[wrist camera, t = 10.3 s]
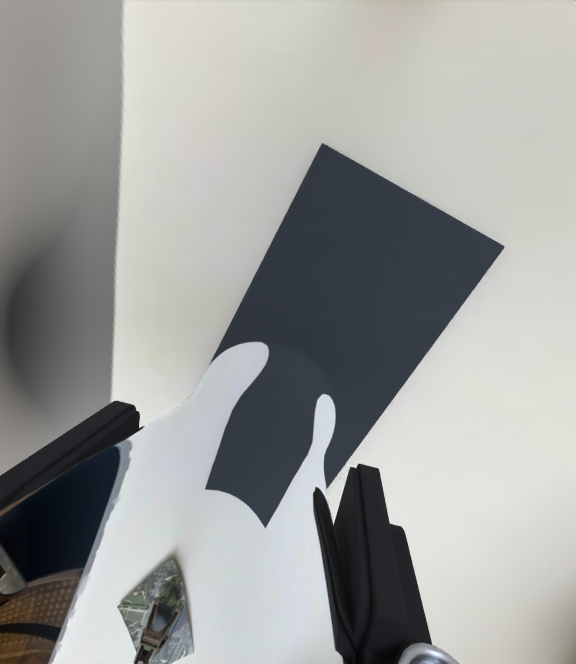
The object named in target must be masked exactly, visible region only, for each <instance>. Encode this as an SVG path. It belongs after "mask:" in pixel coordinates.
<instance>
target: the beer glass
mask: <svg viewBox="0 0 576 664" xmlns="http://www.w3.org/2000/svg"><path fill="white" fill-rule="evenodd" d="M337 418H338V406H337V400H336V395H335V392H334V389H333V387H332V385H331V383H330V381H329V379H328V377H327V376H326V374H325V373H324V371H323V370H322V369H321V367H320V366H319V365H318V364H317V363H316V362H315V361H314V360H313V359H311V358H310V357H309V356H308V355H306V354H305V353H303V352H302V351H300V350H298V349H296V348H294V347H292V346H289V345H287V344H283V343H280V342H275V341H265V340H260V341H250V342H245V343H241V344H238V345H236V346H233V347H231V348H229V349H227V350H226V351H224V352H223V353H221V354H220V355H219V356H218V357H217V358H216V359H215V360H214V361H213V362H212V363H211V364H210V365H209V367H208V368H207V370H206V371H205V373H204V374H203V376H202V378H201V380H200V381H199V383H198V385H197V387H196V389H195V391H194V392H193V394H192V395H191V396H190V397H189V398H188V399H187V400H185V401H184V402H183V403H182V404H180V405H179V406H178V407H176V408H174V409H173V410H171V411H169V412H168V413H166V414H164V415H163V416H161V417H159V418H157V419H155V420H154V421H152V422H150V423H148V424H146V425H144V426H142V427H141V428H139V429H137V430H135V431H133V432H131V433H130V434H128V435H126V436H124V437H122V438H120V439H119V440H117V441H115V442H113V443H111V444H110V445H108V446H106V447H104V448H102V449H101V450H99V451H97V452H95V453H94V454H92V455H90V456H88V457H86V458H85V459H83V460H81V461H79V462H77V463H76V464H74V465H72V466H70V467H68V468H67V469H65V470H63V471H62V472H60V473H58V474H57V475H55V476H53V477H52V478H50V479H49V480H47V481H45V482H44V483H42V484H41V485H39V486H37V487H36V488H34V489H32V490H31V491H29V492H28V493H26V494H24V495H23V496H21V497H20V498H18V499H16V500H15V501H13V502H11V503H10V504H8V505H7V506H5V507H3V508H2V509H0V664H357V662H356V655H355V648H354V641H353V634H352V627H351V619H350V613H349V608H348V602H347V597H346V591H345V586H344V580H343V575H342V570H341V564H340V559H339V553H338V548H337V542H336V537H335V532H334V527H333V522H332V517H331V512H330V507H329V502H328V496H327V489H326V483H325V471H324V466H325V459H326V455H327V452H328V449H329V447H330V444H331V442H332V439H333V436H334V433H335V430H336V426H337Z"/></svg>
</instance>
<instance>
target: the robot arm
mask: <svg viewBox="0 0 576 664" xmlns="http://www.w3.org/2000/svg"><path fill="white" fill-rule="evenodd" d="M139 420H140V413H139V412H138V411H136V407H135V406H134V405H132V404H128V403H124V402H120V401H114V402H112V403H110V404H109V405H107V406H106V407H104V408H103V409H101V410H100V411H98V412H97V413H95V414H94V415H92V416H90V417H89V418H87V419H86V420H84V421H83V422H81V423H80V424H78V425H77V426H75V427H74V428H73V429H71V430H69V431H68V432H66V433H65V434H63V435H62V436H60V437H58V438H57V439H55V440H54V441H53V442H51V443H50V444H48V445H46V446H45V447H43V448H42V449H40V450H39V451H37V452H36V453H34V454H33V455H31V456H30V457H28V458H27V459H25V460H23V461H22V462H20V463H19V464H18V465H16V466H14V467H13V468H11V469H10V470H8V471H7V472H5V473H4V474H2V475H1V476H0V509H2V508H3V507H5V506H7V505H8V504H10V503H11V502H13V501H15V500H16V499H18V498H20V497H21V496H23V495H24V494H26V493H28V492H29V491H31V490H32V489H34V488H36V487H37V486H39V485H41V484H42V483H44V482H45V481H47V480H49V479H50V478H52V477H53V476H55V475H57V474H58V473H60V472H62V471H63V470H65V469H67V468H68V467H70V466H72V465H74V464H76V463H77V462H79V461H81V460H83V459H85V458H86V457H88V456H90V455H92V454H94V453H95V452H97V451H99V450H101V449H102V448H104V447H106V446H108V445H110V444H111V443H113V442H115V441H117V440H119V439H120V438H122V437H124V436H126V435H128V434H130V433H131V432H133V431H135V430H137V429H139ZM333 527H334V532H335V537H336V542H337V548H338V553H339V559H340V564H341V570H342V575H343V580H344V586H345V591H346V597H347V602H348V608H349V613H350V619H351V627H352V634H353V641H354V648H355V655H356V662H357V664H459V663H458V662H457V661H456V660H455V659H454V658H452V657H451V656H450V655H449V654H448V653H446V652H445V651H443V650H441V649H439V648H438V647H436V646H434V645H432V642H431V638H430V634H429V630H428V625H427V621H426V617H425V613H424V609H423V605H422V601H421V597H420V593H419V588H418V584H417V580H416V576H415V572H414V568H413V564H412V560H411V556H410V551H409V547H408V543H407V539H406V535H405V532H404V530H403V528H402V527H400V526H397V525H393V524H390V523H389V518H388V513H387V508H386V503H385V498H384V492H383V487H382V482H381V477H380V472H379V469H378V468H374V467H370V466H367V465H363V464H358V466H357V468H353V467H350V470H349V473H348V476H347V480H346V484H345V487H344V491H343V494H342V498H341V501H340V505H339V508H338V512H337V515H336V519H335V522H334V526H333Z"/></svg>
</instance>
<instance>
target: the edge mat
mask: <svg viewBox="0 0 576 664" xmlns="http://www.w3.org/2000/svg"><path fill="white" fill-rule="evenodd" d="M503 249H504V246H503V245H501V244H499V243H498V242H496V241H494V240H492V239H490V238H489V237H487V236H485V235H483V234H482V233H480V232H478V231H476V230H475V229H473V228H471V227H469V226H468V225H466V224H464V223H462V222H461V221H459V220H457V219H455V218H453V217H452V216H450V215H448V214H446V213H445V212H443V211H441V210H439V209H438V208H436V207H434V206H432V205H431V204H429V203H427V202H425V201H424V200H422V199H420V198H418V197H417V196H415V195H413V194H411V193H409V192H408V191H406V190H404V189H402V188H401V187H399V186H397V185H395V184H394V183H392V182H390V181H388V180H387V179H385V178H383V177H381V176H380V175H378V174H376V173H374V172H372V171H371V170H369V169H367V168H365V167H364V166H362V165H360V164H358V163H357V162H355V161H353V160H351V159H350V158H348V157H346V156H344V155H343V154H341V153H339V152H337V151H335V150H334V149H332V148H330V147H328V146H327V145H325V144H323V143H322V145H321V147H320V148H319V150H318V152H317V154H316V156H315V158H314V160H313V162H312V164H311V166H310V168H309V170H308V172H307V174H306V176H305V178H304V180H303V182H302V184H301V186H300V188H299V190H298V192H297V194H296V196H295V198H294V200H293V202H292V204H291V206H290V208H289V210H288V211H287V213H286V215H285V217H284V219H283V221H282V223H281V225H280V227H279V229H278V231H277V233H276V235H275V237H274V239H273V241H272V243H271V245H270V247H269V249H268V251H267V253H266V255H265V257H264V259H263V261H262V263H261V265H260V267H259V269H258V271H257V273H256V274H255V276H254V278H253V280H252V282H251V284H250V286H249V288H248V290H247V292H246V294H245V296H244V298H243V300H242V302H241V304H240V306H239V308H238V310H237V312H236V314H235V316H234V318H233V320H232V322H231V324H230V326H229V328H228V330H227V332H226V334H225V336H224V337H223V339H222V341H221V343H220V345H219V347H218V349H217V351H216V353H215V355H214V357H213V359H212V361H211V363H212V362H213V361H214V360H215V359H216V358H217V357H218V356H219V355H220V354H221V353H223V352H224V351H226V350H227V349H229V348H231V347H233V346H236V345H238V344H241V343H245V342H250V341H260V340H265V341H275V342H280V343H283V344H287V345H289V346H292V347H294V348H296V349H298V350H300V351H302V352H303V353H305V354H306V355H308V356H309V357H310V358H311V359H313V360H314V361H315V362H316V363H317V364H318V365H319V366H320V367H321V369H322V370H323V371H324V373H325V374H326V376H327V377H328V379H329V381H330V383H331V385H332V387H333V389H334V392H335V395H336V400H337V406H338V418H337V426H336V430H335V433H334V436H333V439H332V442H331V444H330V447H329V449H328V452H327V455H326V459H325V466H324V471H325V483H326V489H327V488H328V487H329V485H330V484H331V483H332V481H333V480H334V479H335V477H336V476H337V474H338V473H339V472H340V470H341V469H342V468H343V466H344V465H345V464H346V462H347V461H348V459H349V458H350V457H351V455H352V454H353V453H354V451H355V450H356V449H357V447H358V446H359V445H360V443H361V442H362V440H363V439H364V438H365V436H366V435H367V434H368V432H369V431H370V430H371V428H372V427H373V425H374V424H375V423H376V421H377V420H378V419H379V417H380V416H381V415H382V413H383V412H384V411H385V409H386V408H387V406H388V405H389V404H390V402H391V401H392V400H393V398H394V397H395V396H396V394H397V393H398V391H399V390H400V389H401V387H402V386H403V385H404V383H405V382H406V381H407V379H408V378H409V377H410V375H411V374H412V372H413V371H414V370H415V368H416V367H417V366H418V364H419V363H420V362H421V360H422V359H423V357H424V356H425V355H426V353H427V352H428V351H429V349H430V348H431V347H432V345H433V344H434V343H435V341H436V340H437V338H438V337H439V336H440V334H441V333H442V332H443V330H444V329H445V328H446V326H447V325H448V323H449V322H450V321H451V319H452V318H453V317H454V315H455V314H456V313H457V311H458V310H459V309H460V307H461V306H462V304H463V303H464V302H465V300H466V299H467V298H468V296H469V295H470V294H471V292H472V291H473V289H474V288H475V287H476V285H477V284H478V283H479V281H480V280H481V279H482V277H483V276H484V275H485V273H486V272H487V270H488V269H489V268H490V266H491V265H492V264H493V262H494V261H495V260H496V258H497V257H498V255H499V254H500V253H501V251H502V250H503ZM211 363H210V364H211Z"/></svg>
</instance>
